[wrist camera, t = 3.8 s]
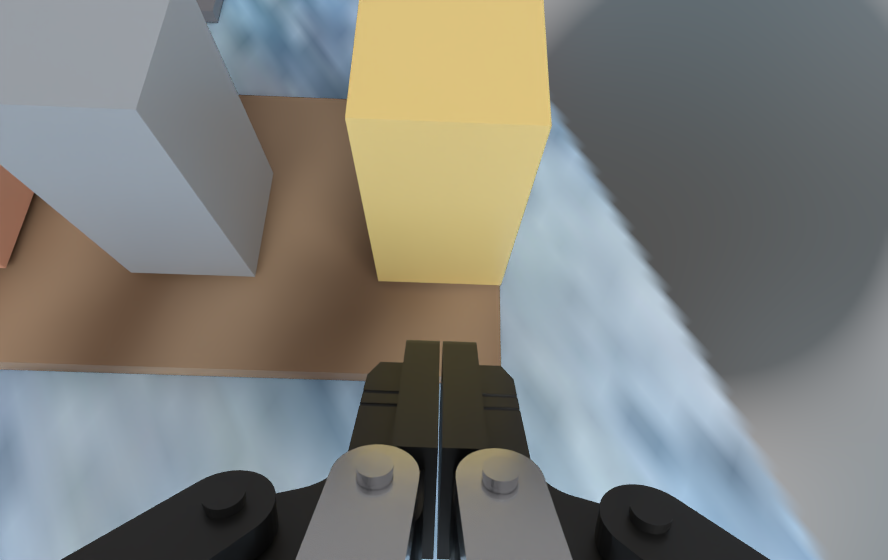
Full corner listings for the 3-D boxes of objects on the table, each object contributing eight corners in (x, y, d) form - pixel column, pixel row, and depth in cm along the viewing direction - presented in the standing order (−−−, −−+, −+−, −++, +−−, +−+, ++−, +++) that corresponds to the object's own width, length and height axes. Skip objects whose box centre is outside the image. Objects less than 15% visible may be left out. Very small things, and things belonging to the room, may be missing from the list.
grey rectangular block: (131, 272, 18) (-76, 101, 10) (159, 168, 19) (-4, -43, 12) (255, 276, 18) (136, 109, 11) (273, 173, 19) (180, -35, 12)
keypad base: (-219, 362, 18) (-254, 354, 17) (-84, 99, 22) (-106, 80, 21) (497, 385, 18) (500, 378, 17) (493, 122, 22) (496, 105, 21)
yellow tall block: (378, 281, 18) (344, 118, 11) (386, 177, 20) (362, -27, 12) (500, 285, 18) (551, 125, 11) (499, 181, 20) (542, -20, 12)
